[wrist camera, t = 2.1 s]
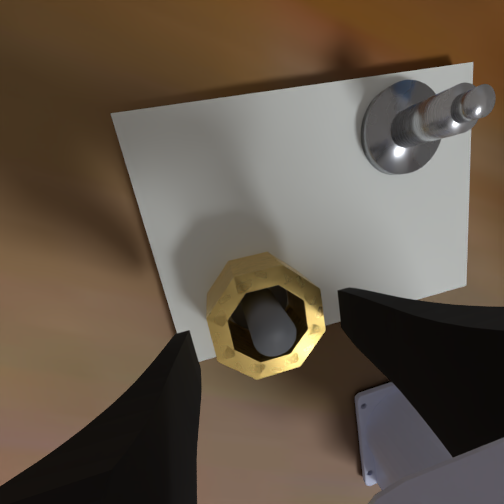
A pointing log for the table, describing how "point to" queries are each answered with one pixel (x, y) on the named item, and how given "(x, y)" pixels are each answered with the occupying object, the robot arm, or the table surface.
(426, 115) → the hub
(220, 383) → the table surface
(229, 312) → the ring
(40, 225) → the table surface
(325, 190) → the board
